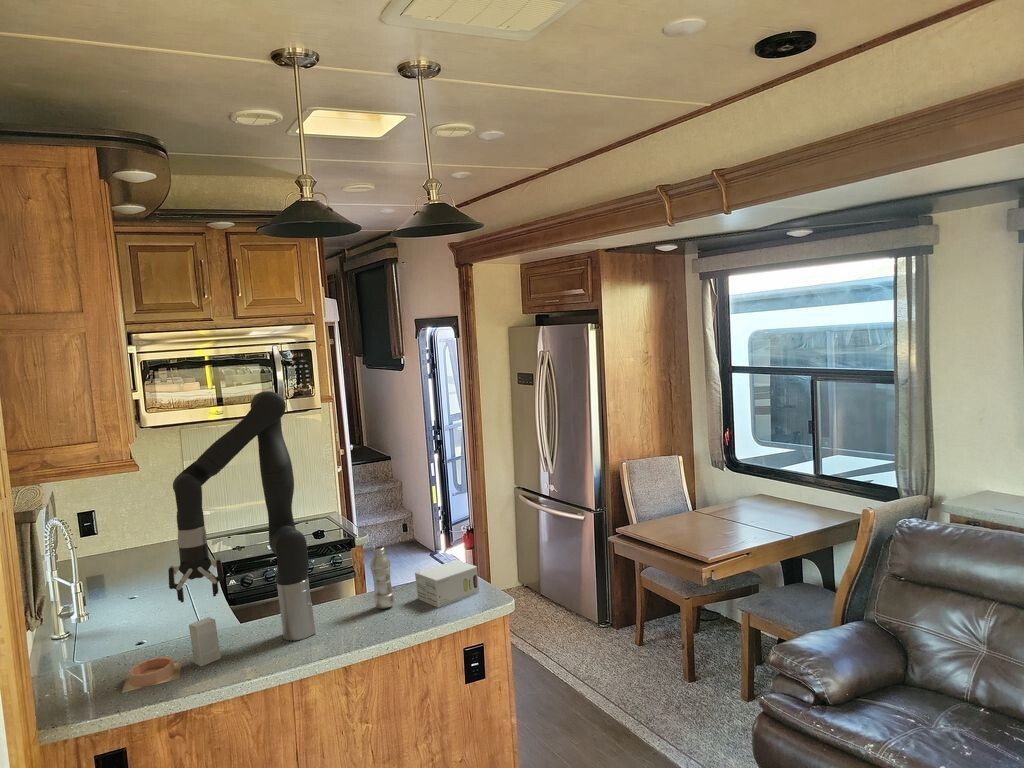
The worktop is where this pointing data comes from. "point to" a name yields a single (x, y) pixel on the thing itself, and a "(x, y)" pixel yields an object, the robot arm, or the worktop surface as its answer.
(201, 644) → the skincare box
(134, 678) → the terracotta bowl
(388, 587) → the plastic bottle
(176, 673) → the cork mat
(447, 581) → the supplement box
